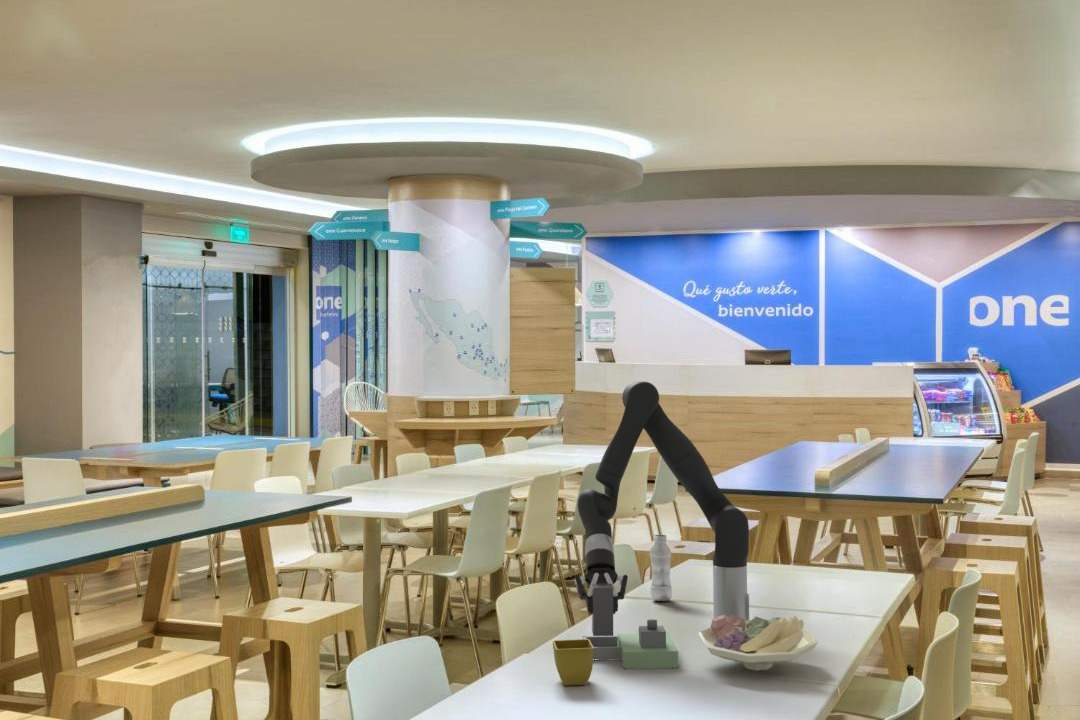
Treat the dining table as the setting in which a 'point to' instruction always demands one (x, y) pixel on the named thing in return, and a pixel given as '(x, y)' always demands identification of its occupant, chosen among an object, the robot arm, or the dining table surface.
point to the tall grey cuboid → (602, 609)
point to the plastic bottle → (660, 569)
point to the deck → (638, 647)
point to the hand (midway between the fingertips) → (603, 611)
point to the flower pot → (573, 660)
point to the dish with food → (758, 640)
